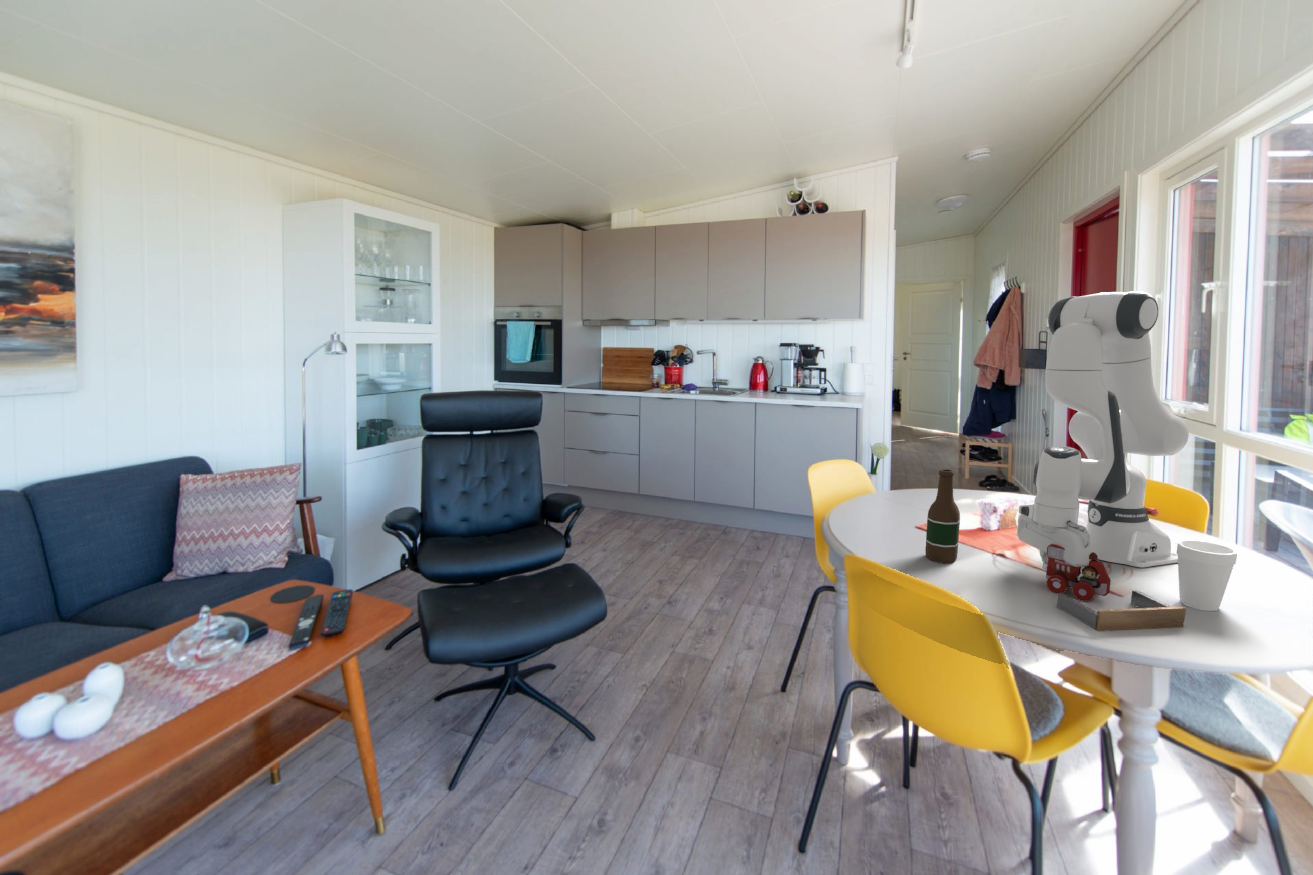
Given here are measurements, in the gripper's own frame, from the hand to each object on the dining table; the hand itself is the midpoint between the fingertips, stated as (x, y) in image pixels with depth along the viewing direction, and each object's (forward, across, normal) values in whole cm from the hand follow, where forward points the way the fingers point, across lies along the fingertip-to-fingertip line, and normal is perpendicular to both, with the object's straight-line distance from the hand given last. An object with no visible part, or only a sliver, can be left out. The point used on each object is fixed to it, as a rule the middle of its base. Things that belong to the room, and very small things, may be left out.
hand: (1049, 571), depth 142 cm
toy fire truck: (+2, -8, 0) cm, 8 cm away
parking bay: (+2, -19, 0) cm, 20 cm away
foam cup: (+2, -16, -22) cm, 27 cm away
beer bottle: (+2, +16, +18) cm, 24 cm away
